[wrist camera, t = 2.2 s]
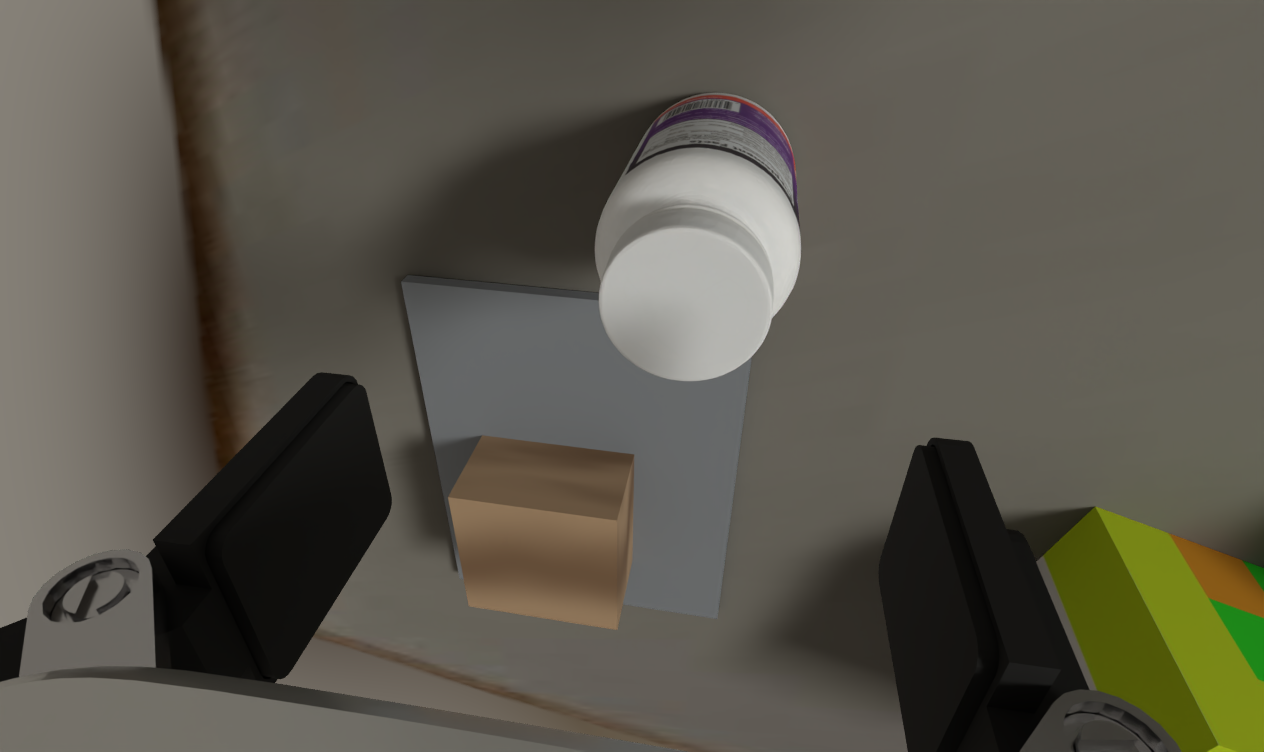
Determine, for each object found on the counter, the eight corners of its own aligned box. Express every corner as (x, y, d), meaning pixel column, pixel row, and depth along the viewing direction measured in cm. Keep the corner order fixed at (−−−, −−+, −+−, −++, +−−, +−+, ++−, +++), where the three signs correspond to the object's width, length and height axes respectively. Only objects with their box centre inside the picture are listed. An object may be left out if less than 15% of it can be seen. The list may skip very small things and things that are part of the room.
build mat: (407, 274, 28) (400, 281, 28) (757, 307, 26) (757, 315, 26) (463, 570, 38) (459, 578, 38) (718, 609, 36) (717, 618, 36)
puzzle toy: (956, 635, 34) (1010, 862, 26) (1094, 505, 29) (1218, 745, 21) (1140, 700, 35) (1249, 944, 27) (1313, 585, 29) (1520, 852, 21)
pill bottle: (733, 273, 26) (712, 441, 18) (608, 193, 25) (527, 332, 17) (831, 150, 22) (859, 286, 15) (693, 53, 22) (643, 142, 14)
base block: (482, 435, 31) (448, 497, 28) (634, 454, 31) (616, 520, 27) (497, 541, 35) (469, 606, 32) (632, 561, 34) (617, 629, 31)
